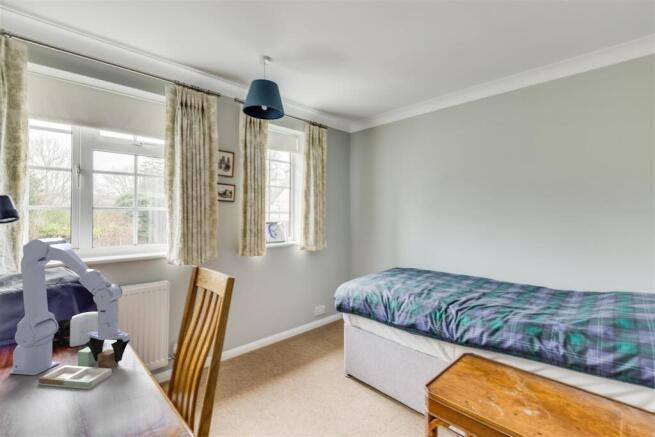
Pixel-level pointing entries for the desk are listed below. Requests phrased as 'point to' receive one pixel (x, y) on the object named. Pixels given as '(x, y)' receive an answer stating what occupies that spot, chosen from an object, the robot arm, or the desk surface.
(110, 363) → the walnut block
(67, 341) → the webcam
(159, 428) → the desk surface
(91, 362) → the sage block
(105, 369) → the slot board
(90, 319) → the photo printer
